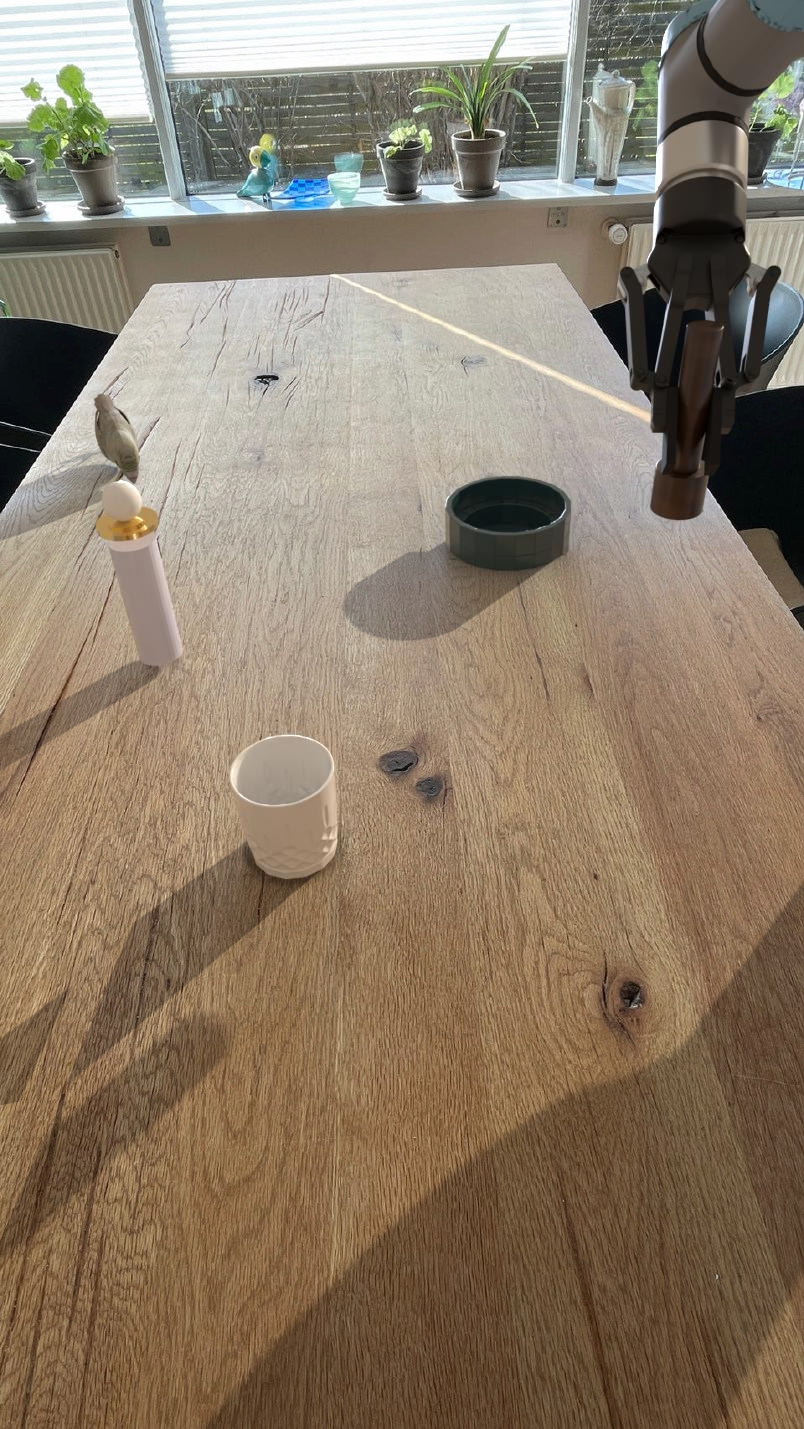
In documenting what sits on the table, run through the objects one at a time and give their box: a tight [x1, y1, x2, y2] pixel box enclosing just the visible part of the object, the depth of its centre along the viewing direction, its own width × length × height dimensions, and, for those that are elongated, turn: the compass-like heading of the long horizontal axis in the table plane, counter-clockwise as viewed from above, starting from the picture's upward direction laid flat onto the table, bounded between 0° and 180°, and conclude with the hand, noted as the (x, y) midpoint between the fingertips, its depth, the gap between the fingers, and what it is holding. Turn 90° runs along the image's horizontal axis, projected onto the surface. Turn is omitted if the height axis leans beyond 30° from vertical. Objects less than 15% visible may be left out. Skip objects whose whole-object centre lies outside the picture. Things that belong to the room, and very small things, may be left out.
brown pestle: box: [649, 319, 724, 521], centre depth 80 cm, size 5×5×16 cm
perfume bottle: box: [95, 480, 184, 667], centre depth 93 cm, size 6×6×20 cm
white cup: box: [228, 734, 339, 880], centre depth 74 cm, size 8×8×10 cm
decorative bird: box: [93, 393, 141, 485], centre depth 135 cm, size 5×16×7 cm, turn 24°
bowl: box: [444, 475, 572, 572], centre depth 111 cm, size 14×14×6 cm
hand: (690, 469), depth 79 cm, fingers closed on brown pestle, 3 cm apart
